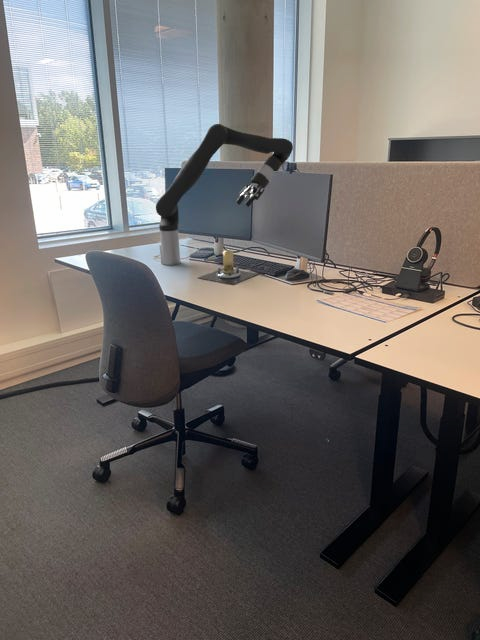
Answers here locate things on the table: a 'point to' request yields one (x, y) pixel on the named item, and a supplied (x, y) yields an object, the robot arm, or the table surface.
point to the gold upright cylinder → (228, 261)
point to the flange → (228, 276)
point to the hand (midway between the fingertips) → (241, 204)
